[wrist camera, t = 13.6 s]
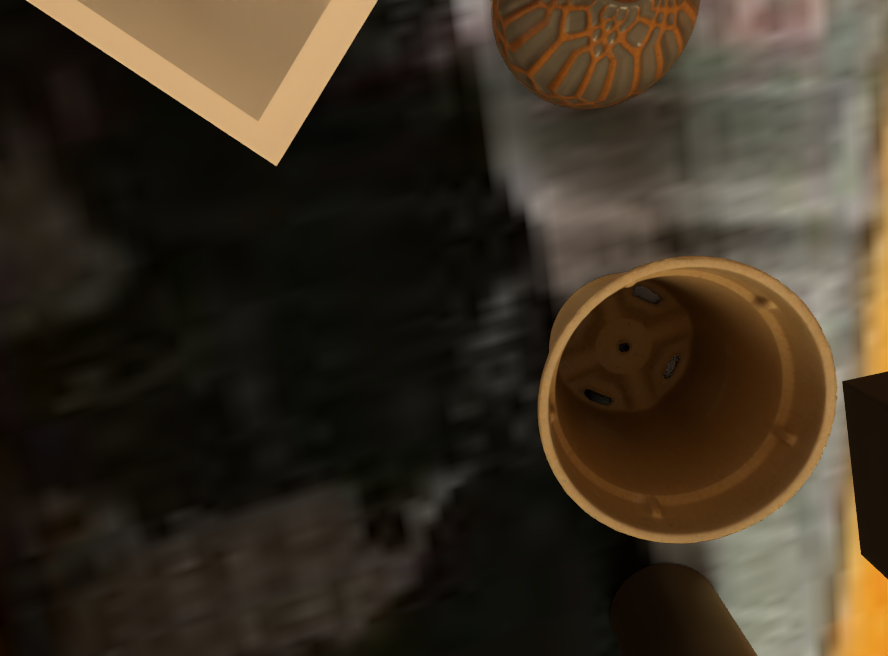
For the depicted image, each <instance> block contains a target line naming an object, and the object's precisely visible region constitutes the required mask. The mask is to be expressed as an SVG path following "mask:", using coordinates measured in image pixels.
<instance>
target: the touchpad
mask: <svg viewBox="0 0 888 656" xmlns="http://www.w3.org/2000/svg"><path fill="white" fill-rule="evenodd" d="M26 1H28V2H29V3H31V4H32V5H34V6H35V7H37V8H38V9H40V10H42V11H43V12H45V13H46V14H48V15H49V16H51V17H52V18H54V19H55V20H57V21H58V22H60V23H61V24H63V25H64V26H66V27H67V28H69V29H70V30H72V31H73V32H75V33H76V34H78V35H79V36H81V37H82V38H84V39H85V40H87V41H88V42H90V43H91V44H93V45H94V46H96V47H97V48H99V49H100V50H102V51H103V52H105V53H106V54H108V55H109V56H111V57H112V58H114V59H115V60H117V61H118V62H120V63H121V64H123V65H124V66H126V67H128V68H129V69H131V70H132V71H134V72H135V73H137V74H138V75H140V76H141V77H143V78H144V79H146V80H147V81H149V82H150V83H152V84H153V85H155V86H156V87H158V88H159V89H161V90H162V91H164V92H165V93H167V94H168V95H170V96H171V97H173V98H174V99H176V100H177V101H179V102H180V103H182V104H183V105H185V106H186V107H188V108H189V109H191V110H192V111H194V112H195V113H197V114H198V115H200V116H201V117H203V118H204V119H206V120H207V121H209V122H210V123H212V124H214V125H215V126H217V127H218V128H220V129H221V130H223V131H224V132H226V133H227V134H229V135H230V136H232V137H233V138H235V139H236V140H238V141H239V142H241V143H242V144H244V145H245V146H247V147H248V148H250V149H251V150H253V151H254V152H256V153H257V154H259V155H260V156H262V157H263V158H265V159H266V160H268V161H269V162H271V163H272V164H274V165H275V166H277V165H278V163H279V162H280V160H281V158H282V157H283V155H284V153H285V152H286V150H287V148H288V147H289V145H290V143H291V142H292V140H293V139H294V137H295V135H296V134H297V132H298V130H299V129H300V127H301V125H302V124H303V122H304V120H305V119H306V117H307V116H308V114H309V112H310V111H311V109H312V107H313V106H314V104H315V102H316V101H317V99H318V98H319V96H320V94H321V93H322V91H323V89H324V88H325V86H326V84H327V83H328V81H329V79H330V78H331V76H332V75H333V73H334V71H335V70H336V68H337V66H338V65H339V63H340V61H341V60H342V58H343V56H344V55H345V53H346V52H347V50H348V48H349V47H350V45H351V43H352V42H353V40H354V38H355V37H356V35H357V33H358V32H359V30H360V29H361V27H362V25H363V24H364V22H365V20H366V19H367V17H368V15H369V14H370V12H371V10H372V9H373V7H374V6H375V4H376V2H377V1H378V0H26Z"/></svg>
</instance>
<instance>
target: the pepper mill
mask: <svg viewBox="0 0 888 656" xmlns="http://www.w3.org/2000/svg"><path fill="white" fill-rule="evenodd" d="M610 620H611V626H612V629H613V632H614V635H615V638H616V640H617V643H618V646H619V648H620V651H621V654H622V656H757V654H756V653H755V651H754V650H753V648H752V646H751V645H750V643H749V642H748V640H747V639H746V637H745V636H744V634H743V633H742V631H741V629H740V628H739V626H738V625H737V623H736V622H735V620H734V619H733V617H732V616H731V614H730V613H729V611H728V609H727V608H726V606H725V605H724V603H723V602H722V600H721V599H720V597H719V596H718V594H717V593H716V591H715V589H714V588H713V586H712V585H711V584H710V582H709V581H708V580H707V579H706V578H705V577H704V576H703V575H701V574H700V573H699V572H697V571H695V570H694V569H692V568H689V567H686V566H683V565H679V564H672V563H663V564H656V565H652V566H648V567H646V568H643V569H641V570H639V571H637V572H636V573H634V574H633V575H631V576H630V577H629V578H628V579H627V580H625V582H624V583H623V584H622V585H621V586H620V588H619V589H618V591H617V592H616V594H615V596H614V599H613V602H612V605H611V611H610Z"/></svg>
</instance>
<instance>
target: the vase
mask: <svg viewBox="0 0 888 656" xmlns="http://www.w3.org/2000/svg"><path fill="white" fill-rule="evenodd" d="M699 4H700V0H492V2H491V15H492V25H493V31H494V36H495V39H496V43H497V46H498V49H499V51H500V53H501V56H502V58H503V60H504V62H505V63H506V65H507V67H508V68H509V70H510V71H511V72H512V74H513V75H514V76H515V77H516V78H517V80H518V81H519V82H520V83H521V84H522V85H523V86H524V87H526V88H527V89H528V90H529V91H531V92H532V93H534V94H535V95H537V96H538V97H540V98H542V99H544V100H546V101H548V102H550V103H553V104H556V105H559V106H563V107H568V108H575V109H596V108H603V107H607V106H612V105H615V104H619V103H621V102H624V101H627V100H629V99H631V98H633V97H635V96H637V95H638V94H640V93H642V92H644V91H645V90H647V89H648V88H650V87H651V86H652V85H653V84H655V83H656V82H657V81H658V80H659V79H660V78H662V77H663V76H664V75H665V73H666V72H667V71H668V70H669V69H670V68H671V67H672V65H673V64H674V63H675V62H676V60H677V59H678V57H679V56H680V55H681V53H682V51H683V50H684V48H685V46H686V44H687V42H688V40H689V38H690V36H691V33H692V31H693V28H694V25H695V22H696V18H697V15H698V10H699Z"/></svg>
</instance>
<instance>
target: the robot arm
mask: <svg viewBox="0 0 888 656" xmlns="http://www.w3.org/2000/svg"><path fill="white" fill-rule="evenodd" d="M842 383H843V392H844V401H845V411H846V420H847V429H848V438H849V447H850V457H851V466H852V475H853V484H854V493H855V503H856V512H857V521H858V530H859V540H860V549H861V555H863V556H864V557H865V558H866V559H867V560H868V561H869V562H870V563H871V564H872V565H873V566H874V567H875V568H876V569H877V570H879V571H880V572H881V573H882V574H883V575H884V576H885V577H886V578H887V579H888V372H884V373H879V374H874V375H870V376H865V377H860V378H856V379H851V380H847V381H842Z"/></svg>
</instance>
